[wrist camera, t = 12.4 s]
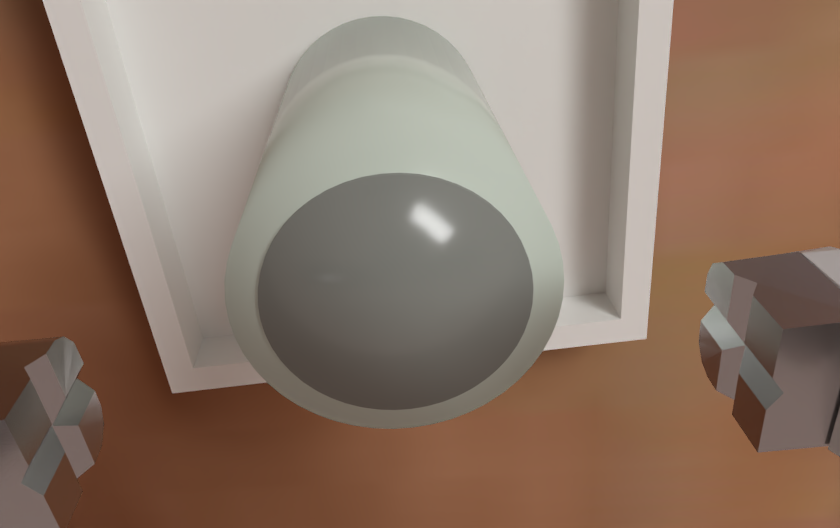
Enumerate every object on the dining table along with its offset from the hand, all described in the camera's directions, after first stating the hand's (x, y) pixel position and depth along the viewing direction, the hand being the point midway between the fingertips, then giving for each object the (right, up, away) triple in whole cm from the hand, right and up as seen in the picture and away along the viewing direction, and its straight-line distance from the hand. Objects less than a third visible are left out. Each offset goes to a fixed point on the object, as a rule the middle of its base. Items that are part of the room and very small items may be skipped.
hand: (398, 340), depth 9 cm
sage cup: (-1, +5, +10) cm, 11 cm away
